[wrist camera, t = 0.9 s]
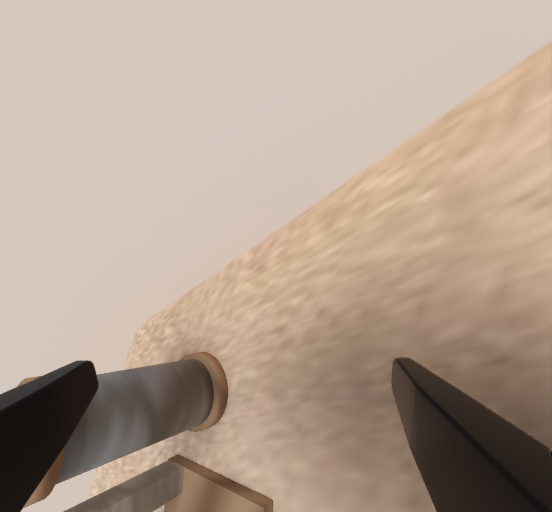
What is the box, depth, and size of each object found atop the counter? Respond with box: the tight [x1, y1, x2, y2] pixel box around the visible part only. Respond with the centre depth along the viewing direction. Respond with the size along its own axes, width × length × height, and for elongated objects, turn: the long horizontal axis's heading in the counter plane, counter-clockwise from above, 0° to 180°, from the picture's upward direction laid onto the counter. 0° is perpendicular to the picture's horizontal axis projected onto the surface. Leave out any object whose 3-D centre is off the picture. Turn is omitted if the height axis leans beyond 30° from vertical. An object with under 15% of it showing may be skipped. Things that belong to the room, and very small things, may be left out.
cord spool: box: [18, 352, 228, 508], centre depth 21 cm, size 6×6×13 cm
